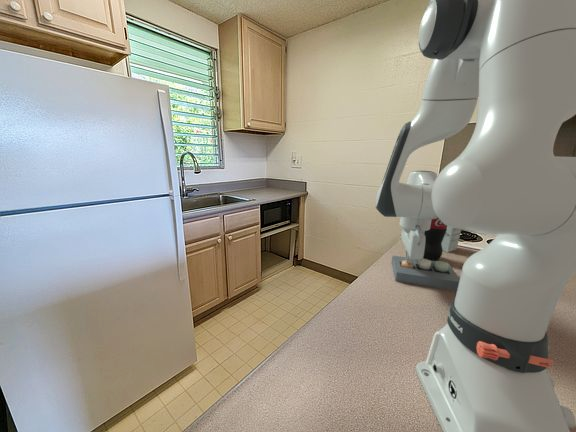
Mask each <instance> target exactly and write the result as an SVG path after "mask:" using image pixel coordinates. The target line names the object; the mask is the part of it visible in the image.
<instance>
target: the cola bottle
mask: <svg viewBox="0 0 576 432" xmlns="http://www.w3.org/2000/svg"><path fill="white" fill-rule="evenodd" d="M446 231H447V225H445V224H444V223H443V222H442V221H441V220H440V219H439V218H438V219H432V220H431V226H430V230H427V231H425V233H424V235H425V238H426V240H425V250H424V256H423V259H427V260H430V261H439V259H440V258H441V257H442V255H443V250H442V241H443V238H444V236H445V233H446Z"/></svg>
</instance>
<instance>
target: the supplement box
mask: <svg viewBox="0 0 576 432" xmlns="http://www.w3.org/2000/svg"><path fill="white" fill-rule="evenodd" d="M461 232H462V230H460V229H455V228H451V227H449V226H447V231H446V233H445V236H444V238H443V241H442V252H445V253H449V252H453V250H454V251H457V248H458V245H459V241H460V236H461Z"/></svg>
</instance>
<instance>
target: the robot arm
mask: <svg viewBox="0 0 576 432" xmlns="http://www.w3.org/2000/svg"><path fill="white" fill-rule="evenodd" d="M418 48H419V51H420V52H421V54H422V55H423V56H424V57H425V58H427V59H433V60H432V62H431V65H430V67H429V68H430V69H429V70H428V74H427V77H426V81H425V83H424V87H423V91H422V96H421V102H420V105H419V108H418V110H417V112H416V114H415V115H414V116H413V118H412V119H411V120H409V121H408V122H406V123H404V124H403V126H402V128H401V130H400V131H399V133H398V135H397V139H396V142H395V144H394V146H393V149H392V152H391V155H390V159H389V161H388V164H387V167H386V171H385V173H384V176H383V179H382V182H381V184H380V186H379V187H378V190H377V192H376V195H375V201H374V204H375V209H376V210H377V211H378V212H379V214H381V215H382V216H384V217H387V218H397V217H398V218H400V220H399V224H398V225H399V226H400V227H401V230H400V231H401V232H400V233H401V234H400V235H401V240H402V243H403V246H404V248H405V256H404V257H405V259H406V262H407V263H410V264H411V263H412V262H413V259H415V260H422V259H424V258H423V256H424V250H425V240H426V238H425V235H424V233H425V231H427V230H430V226H431V220H432V219H438V218H439V219H440V220H441V221H442V222H443V223H444V224H445V225H447V226H449V227H451V228H455V229H460V230H461V231H464V232H469V233H474V234H479V235H484V236H495V237H494V238H493V239H492V240H491V242H489V244H487V245H486V246H485V247H483V248H482V249H480V250H477V252H475V253H473V254H471V255H470V256H469V257H468V258H467V259H466V260H465V261H464V263H463V265H462V269H461V273H460V276H459V278H460V280H459V285H458V289H457V291H456V293H455V294H456V295H455V298H453V299H452V300H451V302H450V305H449V307H448V310H447V319H446V320H447V321H446V324H445V325H444V326H443V327H442V328H440V329H439V330H438V331H436V332H435V333H434V334H433V338H432V341H431V344H430V347H429V350H428V353H427V358H426V360H423V361H420V362H418V363H417V364H416V366H415V372H416V374H417V377H418V378H419V381H420V384H421V385H422V388H423V390H424V392H425V395H426V398H427V399H428V401H429V403H430V406H431V407H432V410H433V412H434V414H435V417H436V418H437V421H438V423H439V425H440V428H441V430H442V431H443V432H571V431H570V429H573V428H574V427H575V425H576V419H575V415H574V414H575V413H574V412H573V411H572V410H571V409H570V408H569V407H566V406H564V405H561V404H560V402H559V401H560V400H558V397H557V394H556V391H555V380H554V378H553V377H551V376H549V373H548V371H547V368H550V369H552V368H553V366H552V365H549V364H554V363H555V362H554V360H552V359H549V351H550V345H549V336H548V333H547V330H548V327H549V324H550V322H551V320H552V317H553V314H554V311H555V310H556V307H557V304H558V302H559V300H560V297H561V294H562V293H563V291H564V289H565V287H566V286H567V284H568V283H569V282H570V280H571V278H572V277H573V276H574V275H575V274H576V156H557V155H556V156H555V155H554V146H555V141H556V138H557V135H558V133H559V130H560V128H561V126H562V124H563V123H564V122H566V121H568V120H569V119H571V118H573V117H575V116H576V0H430V1H429V3H428V4H427V6H426V9H425V10H424V13H423V16H422V18H421V21H420V24H419V29H418ZM477 104H478V105H477ZM476 106H477V119H476V123H475V127H474V130H473V133H472V135H471V138H470V139H469V141H468V144H467V145H466V147H465V148H464V150H462V152H461V153H460V155H458V156H457V157H456V158H455V159H453V160H452V161H451V162H449V163H448V164H447V165H446V166H445V167H444V168H442V169H441V171H440V172H439V173H436V172H434V171H431V170H430V171H429V170H414V171H411V172H410V173H409V174H408V178H407V180H406V183H403V182H400V179H401V177H402V176H403V175H402V174H403V171H404V169H405V166H406V163H407V161H408V159H409V157H410V155H411V154H413V153H414V152H415V151H416V150H418V149H420V148H422V147H425V146H428V145H431V144H434V143H437V142H441V141H444V140H446V139H448V138H451V137H453V136H455V135H457V134H458V133H459V132H461V131H462V130H463V129H464V128H466V126H468V124H469V123H470V122H471V120H472V118H473V115H474V113H475V109H476Z"/></svg>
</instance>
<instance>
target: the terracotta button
mask: <svg viewBox="0 0 576 432" xmlns="http://www.w3.org/2000/svg"><path fill="white" fill-rule="evenodd" d="M413 265H414V263H413V262H412V263H411V264H410V263H407V262H406V260H403V261H402V264H401V267H406V268H413Z"/></svg>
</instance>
